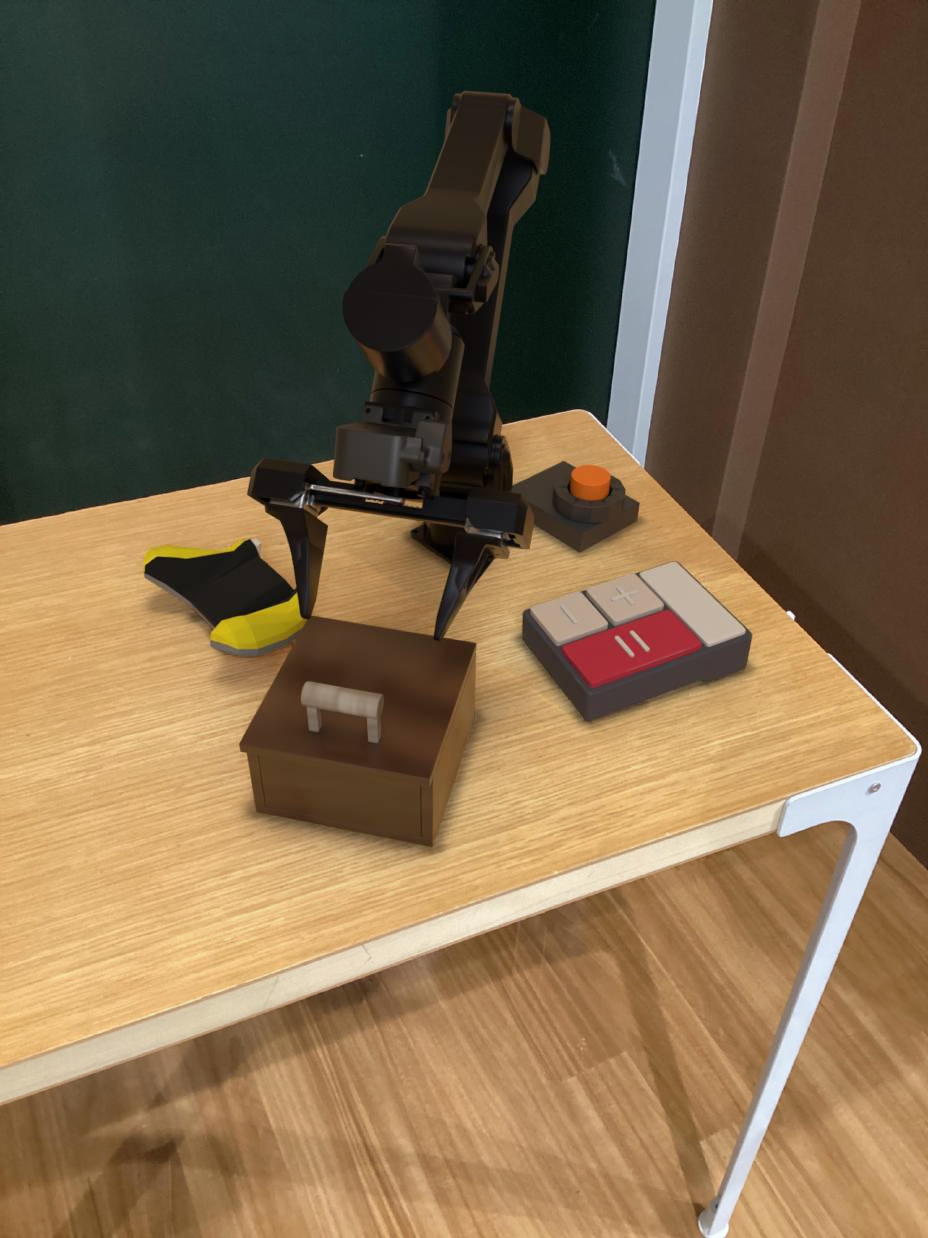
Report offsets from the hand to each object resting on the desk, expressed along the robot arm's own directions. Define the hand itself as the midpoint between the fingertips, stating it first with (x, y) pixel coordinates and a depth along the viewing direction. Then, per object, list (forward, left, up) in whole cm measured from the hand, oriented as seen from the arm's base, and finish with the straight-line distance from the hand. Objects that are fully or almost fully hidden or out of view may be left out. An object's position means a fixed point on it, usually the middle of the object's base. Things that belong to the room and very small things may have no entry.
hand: (370, 629), depth 71 cm
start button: (-10, +33, -8) cm, 36 cm away
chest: (+1, -1, -11) cm, 11 cm away
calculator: (+5, +22, -12) cm, 26 cm away
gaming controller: (-19, 0, -12) cm, 22 cm away
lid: (+1, -2, -5) cm, 5 cm away
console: (-12, +33, -11) cm, 37 cm away
